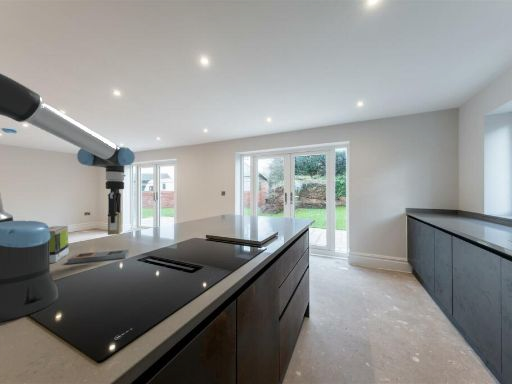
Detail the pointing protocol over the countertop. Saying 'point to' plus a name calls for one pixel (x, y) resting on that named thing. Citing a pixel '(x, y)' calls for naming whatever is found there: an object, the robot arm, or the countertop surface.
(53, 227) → the tea box
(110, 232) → the brass block with knob
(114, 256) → the plate with square holes
